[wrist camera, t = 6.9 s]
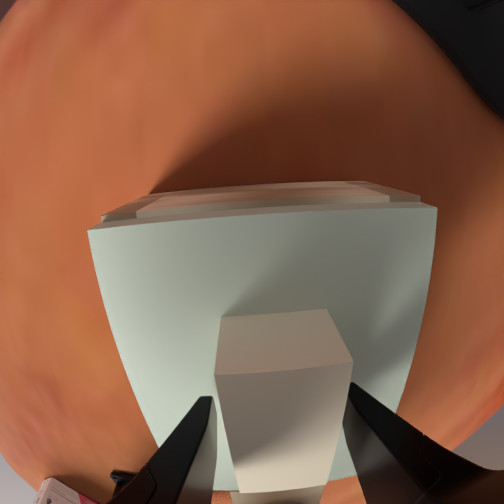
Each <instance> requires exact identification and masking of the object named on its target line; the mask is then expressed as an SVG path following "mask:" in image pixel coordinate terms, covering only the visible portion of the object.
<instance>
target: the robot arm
mask: <svg viewBox="0 0 504 504" xmlns="http://www.w3.org/2000/svg"><path fill="white" fill-rule="evenodd" d="M342 425H343V430H344V435H345V440H346V444H347V447H348V450H349V453H350V456H351V459H352V462H353V464H354V467H355V470H356V473H357V476H358V479H359V482H360V485H361V488H362V491H363V494H364V497H365V500H366V503H367V504H504V470H490V469H486V468H483V467H481V466H478V465H477V464H474V463H472V462H470V461H468V460H466V459H464V458H462V457H461V456H459V455H457V454H455V453H453V452H451V451H449V450H448V449H446V448H444V447H442V446H441V445H439V444H438V443H436V442H435V441H433V440H432V439H430V438H429V437H428V436H426V435H423V433H422V432H420V431H419V430H418V429H416V428H415V427H413V426H412V425H411V424H409V423H408V422H407V421H405V420H404V419H402V418H401V417H400V416H398V415H397V414H396V413H394V412H393V411H392V410H390V409H389V408H387V407H386V406H385V405H383V404H382V403H381V402H379V401H378V400H377V399H375V398H374V397H373V396H371V395H370V394H369V393H367V392H366V391H365V390H364V389H362V388H361V387H360V386H358V385H357V384H356V383H354V382H350V385H349V391H348V396H347V401H346V406H345V411H344V416H343V421H342ZM216 462H217V411H216V407H215V402H214V398H213V396H200V397H199V398H198V399H197V401H196V402H195V403H194V405H193V406H192V407H191V408H190V410H189V411H188V412H187V414H186V415H185V416H184V417H183V419H182V420H181V421H180V423H179V424H178V425H177V426H176V428H175V429H174V430H173V431H172V433H171V434H170V435H169V436H168V438H167V439H166V440H165V441H164V443H163V444H162V445H161V446H160V447H159V449H158V450H157V451H156V452H155V454H154V455H153V456H152V457H151V458H150V460H149V461H148V462H147V463H146V465H147V466H146V465H145V466H144V467H143V468H142V469H141V470H140V472H139V473H138V474H137V475H136V476H132V475H126V474H121V473H115V472H111V474H110V477H111V478H112V479H113V481H114V482H115V483H116V486H115V490H114V493H113V497H112V499H111V500H110V501H109V502H107V503H106V504H211V500H212V492H213V485H214V477H215V470H216Z"/></svg>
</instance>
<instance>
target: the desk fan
mask: <svg viewBox="0 0 504 504" xmlns="http://www.w3.org/2000/svg"><path fill="white" fill-rule="evenodd" d="M393 1H394V2H395V3H396V4H397V5H398V6H400V7H401V8H402V9H403V10H404V11H405V12H406V13H407V14H408V15H409V16H410V17H411V18H412V19H413V20H415V21H416V22H417V23H418V24H419V25H420V26H421V27H422V28H423V29H424V30H425V32H426V33H427V34H428V35H429V36H430V37H431V38H432V39H433V40H434V41H435V42H436V43H437V44H438V45H439V47H440V48H441V49H442V50H443V51H444V52H445V53H446V55H447V56H448V57H449V58H450V59H451V61H452V62H453V63H454V64H455V65H456V67H457V68H458V69H459V70H460V72H461V73H462V74H463V76H464V77H465V78H466V79H467V81H468V82H469V83H470V85H471V86H472V87H473V88H474V90H475V91H476V92H477V93H478V94H479V96H480V97H481V98H482V99H483V100H484V101H485V103H486V104H487V105H488V106H489V107H490V108H491V109H492V110H493V111H494V112H495V113H496V114H498V115H499V116H500V117H501V118H502V119H504V0H393Z"/></svg>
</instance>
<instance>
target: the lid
mask: <svg viewBox="0 0 504 504" xmlns="http://www.w3.org/2000/svg"><path fill="white" fill-rule="evenodd" d="M436 223H437V207H434V206H431V205H428V204H425V203H422V202H375V203H341V204H316V205H295V206H277V207H261V208H246V209H232V210H219V211H207V212H195V213H184V214H174V215H163V216H153V217H144V218H135V219H126V220H117V221H109V222H102V223H100V224H98V225H96V226H94V227H92V228H91V229H89V230H87V231H88V237H89V242H90V247H91V252H92V257H93V261H94V266H95V270H96V274H97V279H98V283H99V287H100V291H101V295H102V298H103V302H104V306H105V309H106V313H107V316H108V320H109V323H110V326H111V329H112V333H113V336H114V339H115V342H116V345H117V348H118V351H119V354H120V357H121V360H122V362H123V365H124V368H125V371H126V373H127V376H128V379H129V381H130V384H131V386H132V389H133V391H134V394H135V396H136V399H137V401H138V404H139V406H140V408H141V411H142V413H143V415H144V417H145V420H146V422H147V424H148V426H149V428H150V431H151V433H152V435H153V437H154V439H155V441H156V443H157V445H158V447H160V446H161V445H162V444H163V443H164V441H165V440H166V439H167V438H168V436H169V435H170V434H171V433H172V431H173V430H174V429H175V428H176V426H177V425H178V424H179V423H180V421H181V420H182V419H183V417H184V416H185V415H186V414H187V412H188V411H189V410H190V408H191V407H192V406H193V405H194V403H195V402H196V401H197V399H198V398H199V397H200V396H213V398H214V402H215V407H216V411H217V462H216V470H215V477H214V485H213V490H239V492H240V493H258V492H272V491H283V490H292V489H300V488H307V487H314V486H320V485H326V484H327V481H331V480H336V479H341V478H346V477H351V476H355V475H357V473H356V470H355V467H354V464H353V462H352V459H351V456H350V453H349V450H348V447H347V444H346V440H345V435H344V430H343V425H342V421H343V416H344V411H345V406H346V401H347V396H348V391H349V385H350V382H354V383H356V384H357V385H358V386H360V387H361V388H362V389H364V390H365V391H366V392H367V393H369V394H370V395H371V396H373V397H374V398H375V399H377V400H378V401H379V402H381V403H382V404H383V405H385V406H386V407H387V408H389V409H390V410H392V411H393V412H394V413H396V411H397V408H398V405H399V402H400V399H401V396H402V393H403V390H404V387H405V384H406V381H407V377H408V374H409V371H410V367H411V364H412V360H413V357H414V353H415V349H416V345H417V341H418V337H419V333H420V328H421V324H422V319H423V315H424V310H425V305H426V299H427V294H428V288H429V282H430V276H431V269H432V261H433V253H434V245H435V235H436Z"/></svg>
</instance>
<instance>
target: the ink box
mask: <svg viewBox="0 0 504 504" xmlns="http://www.w3.org/2000/svg"><path fill="white" fill-rule="evenodd" d="M33 504H98V503H96V502H94V501H92V500H90V499H88V498H86V497H85V496H83V495H81V494H79V493H78V492H76V491H74V490H72V489H71V488H69V487H67V486H66V485H64V484H63V483H61V482H59V481H58V480H56V479H55V478H53V477H51V478H48V479H46V480H44V481H43V483H42V485H41V487H40V489H39V492H38V494H37V496H36V499H35V501H34V503H33Z"/></svg>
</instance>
